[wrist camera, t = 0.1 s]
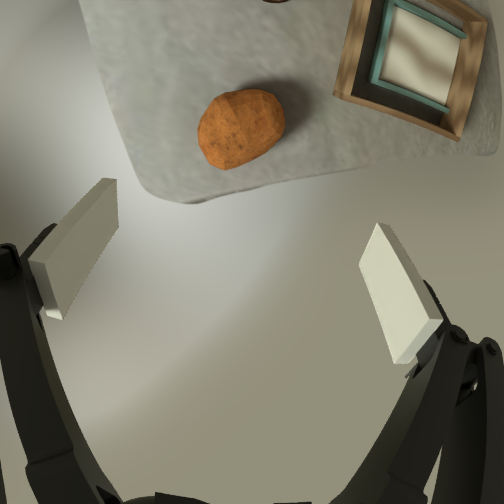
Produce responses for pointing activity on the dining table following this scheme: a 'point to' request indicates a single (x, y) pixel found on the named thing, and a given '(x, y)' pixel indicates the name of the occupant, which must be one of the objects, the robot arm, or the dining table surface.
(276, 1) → the coffee cup
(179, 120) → the dining table surface
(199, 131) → the potato
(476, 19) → the crate
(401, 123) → the dining table surface
